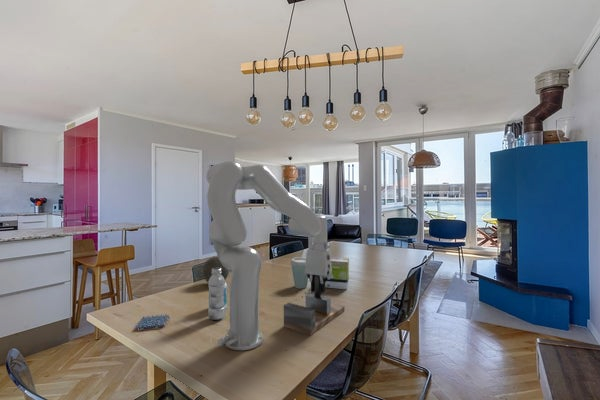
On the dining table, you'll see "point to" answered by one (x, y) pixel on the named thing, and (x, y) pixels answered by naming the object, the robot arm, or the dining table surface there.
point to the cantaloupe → (214, 263)
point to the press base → (318, 320)
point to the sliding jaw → (318, 299)
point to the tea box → (339, 273)
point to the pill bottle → (224, 296)
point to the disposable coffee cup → (299, 272)
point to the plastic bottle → (216, 295)
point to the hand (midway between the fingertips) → (317, 291)
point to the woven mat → (152, 322)
